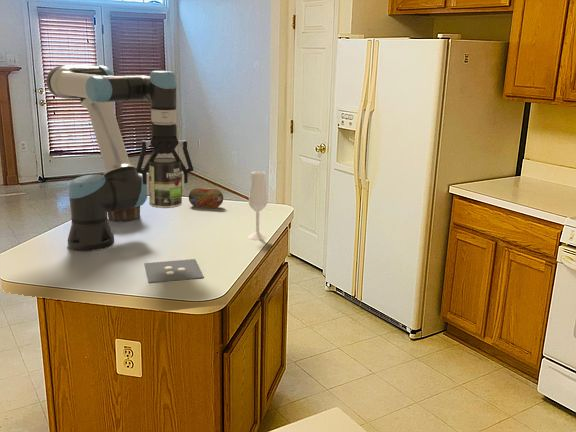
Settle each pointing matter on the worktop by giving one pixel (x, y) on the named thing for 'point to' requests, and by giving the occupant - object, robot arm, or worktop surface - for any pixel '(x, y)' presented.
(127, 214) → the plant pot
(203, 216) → the worktop surface
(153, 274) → the dot mat
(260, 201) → the champagne flute
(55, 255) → the worktop surface
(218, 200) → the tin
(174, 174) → the coffee can
